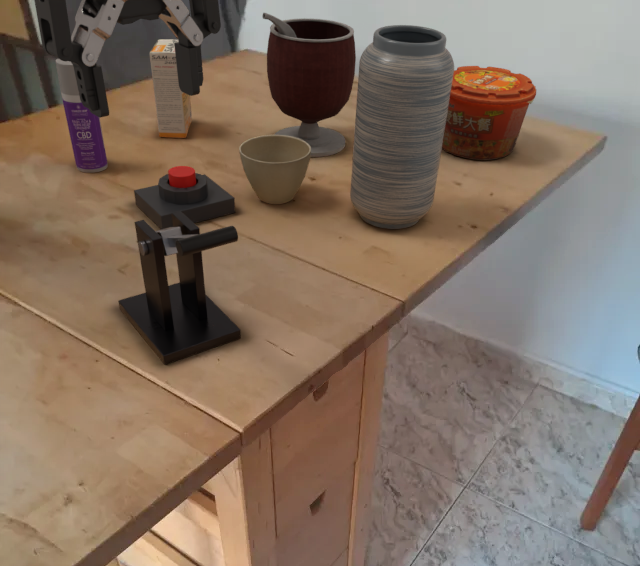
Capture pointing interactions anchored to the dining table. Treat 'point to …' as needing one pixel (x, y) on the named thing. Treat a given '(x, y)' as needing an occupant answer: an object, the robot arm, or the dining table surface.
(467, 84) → the food container
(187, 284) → the bracket
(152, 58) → the supplement box
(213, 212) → the button box
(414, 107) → the vase
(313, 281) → the dining table surface
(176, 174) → the button
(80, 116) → the container
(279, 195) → the flower pot
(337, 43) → the mate gourd
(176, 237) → the lever
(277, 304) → the dining table surface
